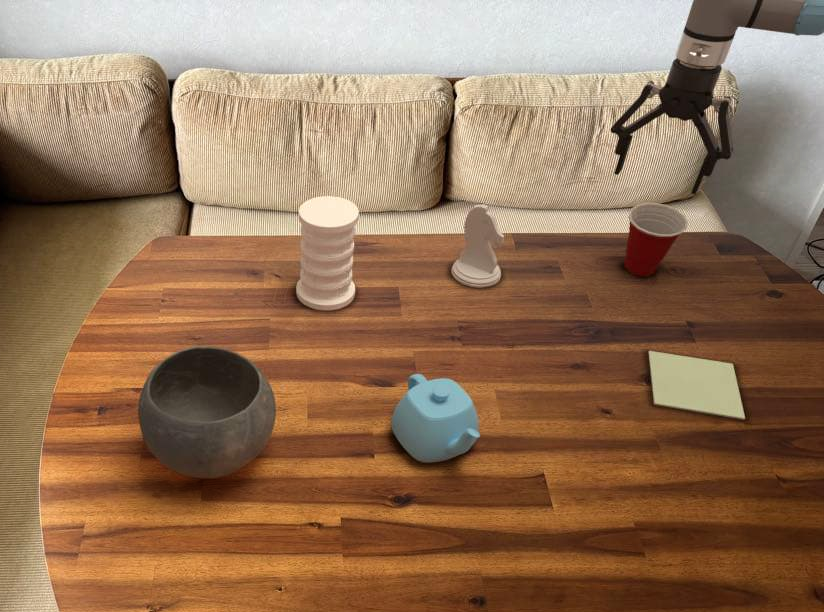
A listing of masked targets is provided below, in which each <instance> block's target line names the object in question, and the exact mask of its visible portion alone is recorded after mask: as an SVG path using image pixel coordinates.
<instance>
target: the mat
mask: <svg viewBox="0 0 824 612" xmlns="http://www.w3.org/2000/svg"><path fill="white" fill-rule="evenodd" d="M647 355H648V364H649V371H650V373H649V374H650V382H651V391H652V399H653V401H652V402H653V406H658V407H663V408H664V407H665V408H671V409H677V410H683V411H689V412H695V413H701V414H707V415H712V416H718V417H725V418H730V419H737V420H742V421H744V420H746V416H745V412H744V407H743V406H744V405H743V402H742V398H741V393H740V388H739V384H738V380H737V375H736V373H735V372H736V371H735V367H734V363H731V362H725V361H717V360H711V359H705V358H698V357H693V356H685V355H679V354H673V353H666V352H660V351H653V350H648V352H647Z"/></svg>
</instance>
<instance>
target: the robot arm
mask: <svg viewBox="0 0 824 612" xmlns="http://www.w3.org/2000/svg"><path fill="white" fill-rule="evenodd" d="M738 28H744V29H753V30H761V31H767V32H768V31H769V32H775V33H782V34H791V35H794V36H798V37H799V36H821V35H823V34H824V0H692V4H691V6H690V9H689V13H688V16H687V19H686V23H685V26H684V27H683V31H682V34H681V37H680V40H679V43H678V45H677V49H676V51H675V54H674V55H675V57H676V58H674V60H673V61H672V63H671V66H670V69H669V72H668V74H667V79H666V81H665V84H664V85H663V86H660V85H656V84H655V82H654V81H653V80H649V81H648V82H647V83H646V84H645V85H644V86H643V88H642V90H641V92H640V95H639V96H638V97H637V99H636V100H634V102H633V103H632V104H631V105H630V106H629V107H628V108H627V109H626V110H625V111H624V112H623V114H622V115H621V116H620V117H619V118H617V120H616V121H615V122H614V123H613V125H612V126H611V127H610V132H611V134H615V135H617V136H618V139H617V142H616V146H615V149H614V155H616V156H617V155H618V156H619V157H618V159H617V163H616V167H615V170H614V172H613V174H614V175H617V176H618V175H619V174H620V173H621V172H622V171H623V168H624V165H625V162H626V159H627V156H628V152H629V149H630V146H631V143H632V140H633V136H634V135H632V134H634V133H635V132H637V131H638V130H640V129H642V128H643V127H644V126H647V124H650V122H652V121H654V120H655V119H658V118H659V117H661V116H662V115H664V114H665V115H666V116H667V117H668V118H669V119H679V120H681V121H683V122H687V121H690V120H691V121H692V123H693V125H694V127H695V128H696V129H697V132H698V134H699V136H700V138H701V140H702V143H703V145H704V147H705V150H706V152H707V153H706V155H705V158H703V159H704V160H703V162H702V165H701V167H700V169H699V172H698V174H697V176H696V180H695V182H694V185H693V187H692V189H691V192H690V194H692V195H696V194H697V193H698V190H699V188H700V186H701V184H702V181H703V178H704V177H708V178H710V177H711V176H712V174H713V172H714V170H715V167H716V165H717V162H718V161H719V160H721V159H722V160H723V159H724V160H729V159H731V158H732V155H733V153H734V142H733V135H732V125H731V118H730V107H731V104H732V97H731V96H728V95H727V96H725V97H724V98H723V97H714V91H715V88H716V86H717V83H718V80H719V77H720V75H721V72H722V69H723V67H722V65H723V64H725V62H726V60H727V58H728V57H727V56H728V54H729V51H730V49H731V46H732V44H733V40H734V39H735V36H736V32H737V31H738ZM656 95H657V96H658V98H659V101H660V103H659V104H658V105H656V106H655V107H654V108H653V109H651V110H650V111H648V112H646V113H645V114H643V115H641V116H640V117H639V118H637V119H636V120H635V121H633V122H631V123H630V124H628V125H627V126H624V125H625V124H626V122H628V120H629V119H630V118H631V117H632V116H633V115H634V114H635V113H636V112H637V111H638V110H639V109H640V108H641V106H643V104H644V103H646V101H647V99H652V98H654V96H656ZM711 106H712V107H713V109H714V112H715V113H717V122H718V130H719V131H718V132H719V140H720V145H719V143H718V141H717V138H716V137H715V134H714V132H713V130H712V127H711V125H710V122H709V120H708V117H707V113H706V110H707V109H709V108H710V107H711ZM720 146H721V147H720Z"/></svg>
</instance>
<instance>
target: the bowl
mask: <svg viewBox="0 0 824 612" xmlns="http://www.w3.org/2000/svg"><path fill="white" fill-rule="evenodd" d="M138 399H139V400H138V406H137V417H138V422H139V423H138V424H139V429H140V433H141V435H142V438H143V440H144V443H145V445H146V447H147V448H148V450H149V451H150V452H151V454H152V455H153V456H154V457H155V458H156V459H157V460H158V461H159V462H160V463H161V464H162V465H164V466H165V467H167V468H168V469H170V470H172V471H174V472H176V473H179V474H181V475H185V476H188V477H192V478H197V479H216V478H221V477H224V476H228V475H231V474H233V473H236V472H238V471H240V470H241V469H243V468H244V467H246V466H247V465H248V464H251V462H252V461H253V460H255V459H256V458H257V457H258V456H259V455H260V453H261V452H262V451H263V450H264V449H265V447H266V446H267V444H268V443H269V441H270V439H271V436H272V434H273V431H274V428H275V422H276V416H277V407H276V405H277V404H276V403H277V402H276V397H275V393H274V391H273V388H272V386H271V384H270V382H269V380H268V378H267V377H266V375H265V374H264V373H263V371H262V370H261V369H260V368H259V367H258V366H257V364H255V363H254V362H253V361H252V360H251V359H249V358H248V357H246V356H244V355H242V354H240V353H238V352H237V351H233V350H231V349H229V348H223V347H219V346H209V345H207V346H206V345H200V346H199V345H198V346H197V345H196V346H190V347H187V348H184V349H181V350H178V351H176V352H173V353H172V354H169V355H168V356H167V357H165V358H164V359H163V360H161V361H160V362H159V363H158V364H156V366H155V367H154V368H153V369H152V370H151V371H150V373H149V375H148V376H147V377H146V380H145V382H144V384H143V387H142V388H141V392H140V395H139V398H138Z"/></svg>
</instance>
